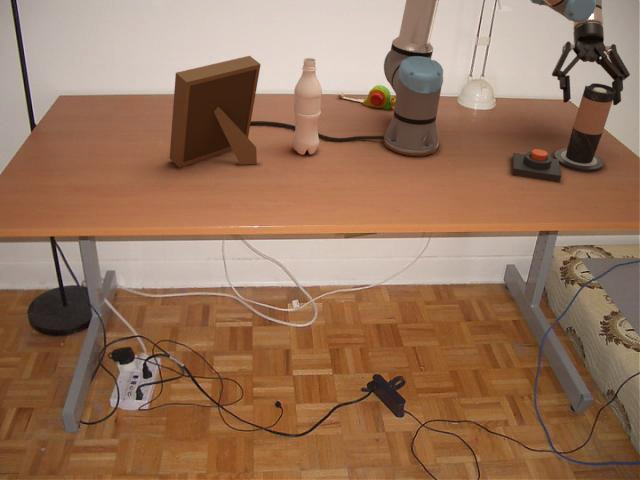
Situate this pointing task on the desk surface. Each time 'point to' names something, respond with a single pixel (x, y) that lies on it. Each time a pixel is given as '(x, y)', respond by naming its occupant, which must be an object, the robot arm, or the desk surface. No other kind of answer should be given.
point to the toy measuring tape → (376, 98)
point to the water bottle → (307, 109)
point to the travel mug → (590, 122)
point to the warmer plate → (581, 167)
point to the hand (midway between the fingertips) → (592, 102)
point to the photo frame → (214, 111)
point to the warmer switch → (535, 167)
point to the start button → (539, 155)
